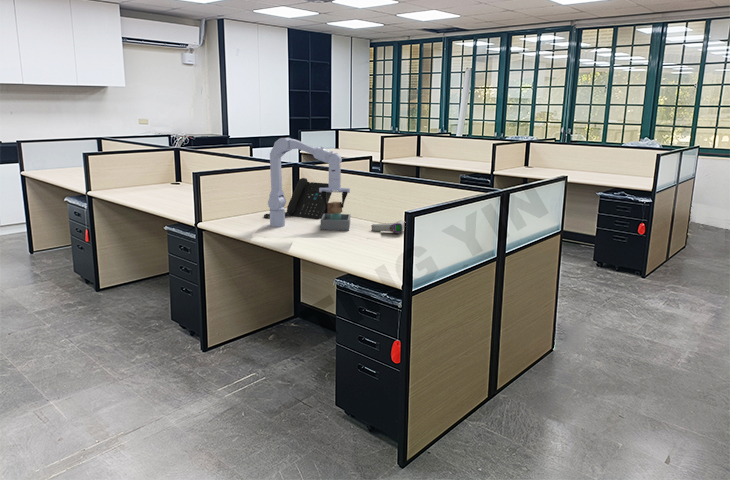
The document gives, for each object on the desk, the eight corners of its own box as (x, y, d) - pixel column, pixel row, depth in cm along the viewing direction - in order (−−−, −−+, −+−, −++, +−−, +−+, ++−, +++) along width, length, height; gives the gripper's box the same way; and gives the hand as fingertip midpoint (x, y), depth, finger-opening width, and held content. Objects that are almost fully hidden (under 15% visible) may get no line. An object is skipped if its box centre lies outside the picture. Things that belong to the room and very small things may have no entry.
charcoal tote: (323, 223, 278) (323, 213, 277) (350, 224, 278) (350, 214, 277) (320, 230, 261) (320, 219, 260) (349, 230, 261) (349, 220, 260)
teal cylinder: (328, 223, 273) (329, 209, 271) (336, 223, 276) (337, 209, 274) (333, 225, 269) (334, 211, 267) (342, 225, 272) (343, 211, 270)
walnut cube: (327, 213, 264) (326, 203, 263) (334, 211, 268) (333, 201, 267) (335, 213, 261) (334, 203, 260) (342, 212, 265) (341, 202, 264)
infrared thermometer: (370, 223, 260) (401, 223, 256) (376, 219, 271) (406, 219, 267) (371, 233, 261) (402, 233, 257) (377, 228, 272) (407, 228, 268)
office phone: (260, 218, 293) (259, 180, 288) (290, 210, 317) (290, 176, 313) (307, 223, 280) (306, 183, 276) (334, 215, 305) (334, 179, 300)
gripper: (318, 179, 257) (318, 208, 260) (349, 180, 257) (349, 208, 260) (319, 178, 264) (319, 206, 267) (350, 178, 264) (349, 206, 266)
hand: (334, 207), depth 263 cm, fingers closed on walnut cube, 7 cm apart
